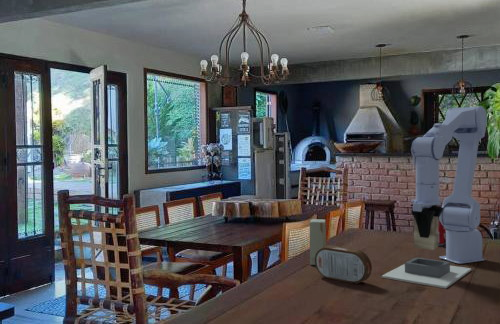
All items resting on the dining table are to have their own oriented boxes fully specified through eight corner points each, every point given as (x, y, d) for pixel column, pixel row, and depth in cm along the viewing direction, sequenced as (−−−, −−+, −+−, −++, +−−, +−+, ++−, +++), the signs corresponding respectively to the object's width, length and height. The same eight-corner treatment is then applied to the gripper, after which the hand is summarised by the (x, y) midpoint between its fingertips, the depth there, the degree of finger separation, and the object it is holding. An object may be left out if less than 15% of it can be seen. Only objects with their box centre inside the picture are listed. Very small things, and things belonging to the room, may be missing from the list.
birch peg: (419, 245, 135) (419, 215, 134) (438, 247, 131) (438, 216, 131) (414, 247, 132) (413, 216, 132) (433, 249, 129) (433, 218, 128)
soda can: (424, 244, 166) (424, 208, 166) (428, 241, 172) (428, 206, 171) (444, 246, 163) (444, 209, 163) (448, 243, 169) (448, 207, 168)
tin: (372, 284, 124) (372, 249, 123) (366, 287, 121) (366, 252, 121) (319, 274, 133) (319, 242, 133) (313, 277, 131) (312, 244, 131)
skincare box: (325, 266, 142) (324, 222, 141) (309, 265, 143) (309, 222, 142) (326, 260, 148) (326, 218, 147) (311, 260, 149) (311, 218, 148)
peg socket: (412, 261, 145) (412, 251, 144) (471, 270, 134) (471, 259, 134) (381, 277, 129) (381, 265, 129) (445, 288, 119) (445, 275, 119)
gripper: (422, 180, 139) (422, 230, 139) (400, 185, 128) (401, 238, 128) (448, 181, 134) (448, 232, 135) (428, 186, 123) (429, 242, 124)
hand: (427, 236), depth 131 cm, fingers closed on birch peg, 3 cm apart
